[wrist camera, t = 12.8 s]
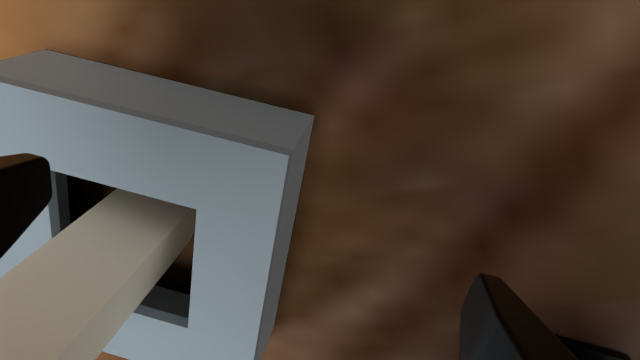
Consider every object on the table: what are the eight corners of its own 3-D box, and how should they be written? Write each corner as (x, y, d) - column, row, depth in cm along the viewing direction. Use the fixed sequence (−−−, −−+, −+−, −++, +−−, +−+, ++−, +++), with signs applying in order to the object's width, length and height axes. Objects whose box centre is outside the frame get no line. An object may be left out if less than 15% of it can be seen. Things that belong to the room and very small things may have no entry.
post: (206, 191, 25) (38, 378, 14) (191, 239, 26) (30, 440, 15) (147, 164, 25) (-69, 331, 14) (136, 214, 26) (-66, 398, 15)
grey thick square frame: (314, 115, 22) (288, 155, 17) (273, 326, 28) (247, 395, 24) (45, 49, 23) (-44, 71, 18) (65, 266, 29) (3, 321, 25)
